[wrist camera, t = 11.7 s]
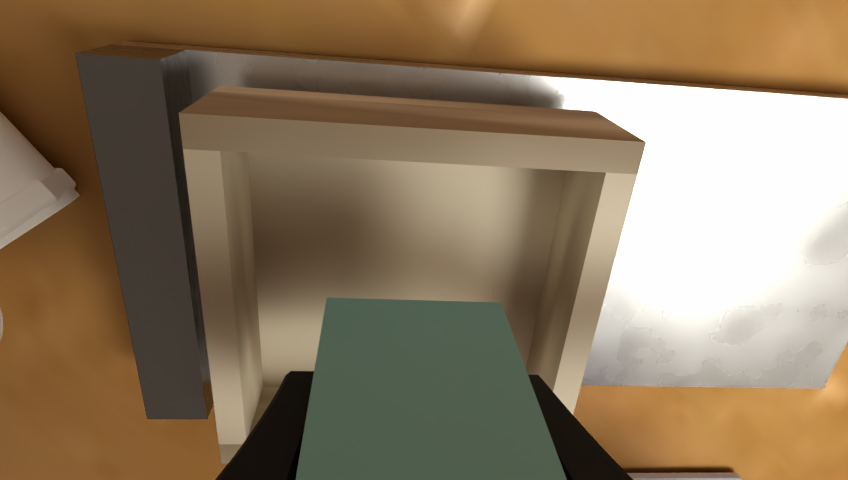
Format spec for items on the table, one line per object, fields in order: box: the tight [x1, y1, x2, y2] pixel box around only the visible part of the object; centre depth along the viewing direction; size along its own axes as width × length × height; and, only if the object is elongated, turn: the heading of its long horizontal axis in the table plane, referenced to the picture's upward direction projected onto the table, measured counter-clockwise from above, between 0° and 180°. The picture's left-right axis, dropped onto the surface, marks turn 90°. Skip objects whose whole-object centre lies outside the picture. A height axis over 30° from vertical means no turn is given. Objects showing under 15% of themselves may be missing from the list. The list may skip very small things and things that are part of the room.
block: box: [296, 297, 567, 480], centre depth 11 cm, size 4×4×5 cm
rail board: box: [75, 41, 848, 419], centre depth 18 cm, size 12×27×3 cm, turn 85°
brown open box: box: [179, 86, 646, 464], centre depth 16 cm, size 11×11×4 cm
